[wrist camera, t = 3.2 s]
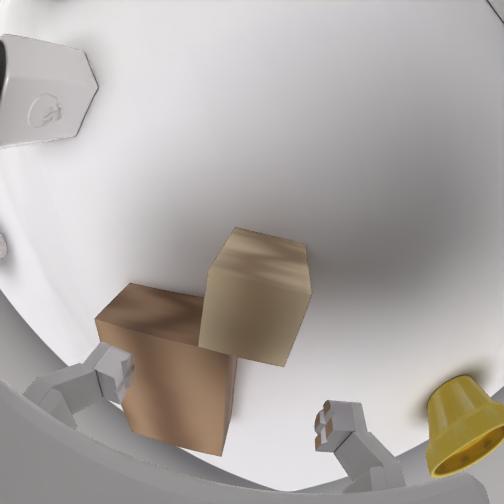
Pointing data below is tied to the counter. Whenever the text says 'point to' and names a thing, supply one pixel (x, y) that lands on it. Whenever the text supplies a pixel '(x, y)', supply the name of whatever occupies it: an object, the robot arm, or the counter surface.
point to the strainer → (2, 247)
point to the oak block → (256, 297)
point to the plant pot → (461, 426)
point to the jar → (41, 91)
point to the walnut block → (170, 368)
